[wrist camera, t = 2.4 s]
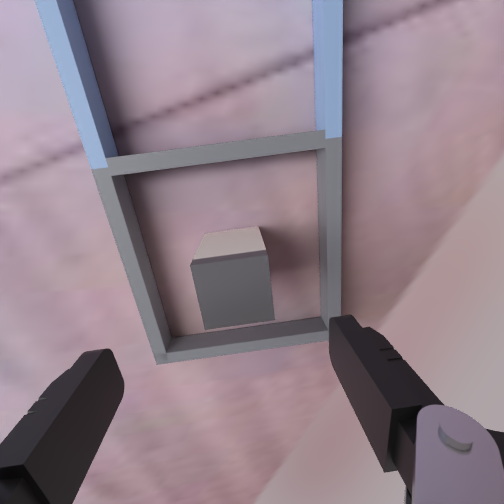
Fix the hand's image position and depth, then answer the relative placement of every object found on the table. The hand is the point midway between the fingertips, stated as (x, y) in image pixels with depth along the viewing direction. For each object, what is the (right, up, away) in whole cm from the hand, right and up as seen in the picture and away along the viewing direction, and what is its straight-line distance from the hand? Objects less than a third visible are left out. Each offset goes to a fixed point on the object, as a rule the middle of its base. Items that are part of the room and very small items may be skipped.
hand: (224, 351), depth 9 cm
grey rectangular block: (0, +3, +10) cm, 10 cm away
